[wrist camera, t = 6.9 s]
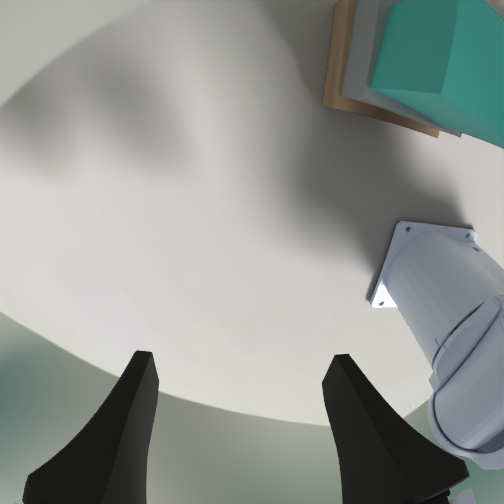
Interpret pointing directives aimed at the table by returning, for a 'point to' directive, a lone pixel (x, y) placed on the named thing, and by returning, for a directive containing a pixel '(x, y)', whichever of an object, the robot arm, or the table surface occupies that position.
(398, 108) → the slate slab
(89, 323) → the table surface
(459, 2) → the teal block
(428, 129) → the walnut slab
